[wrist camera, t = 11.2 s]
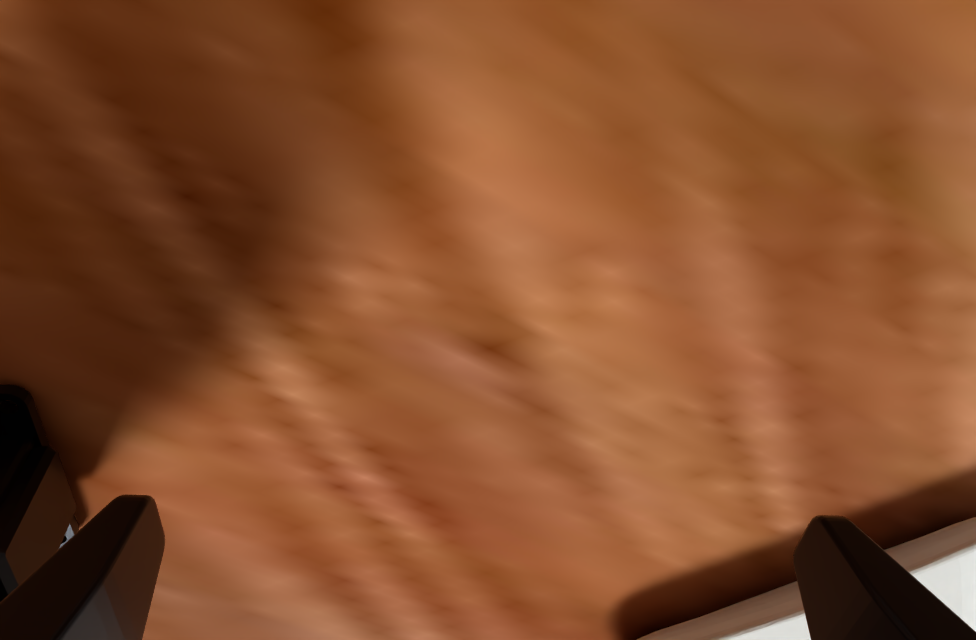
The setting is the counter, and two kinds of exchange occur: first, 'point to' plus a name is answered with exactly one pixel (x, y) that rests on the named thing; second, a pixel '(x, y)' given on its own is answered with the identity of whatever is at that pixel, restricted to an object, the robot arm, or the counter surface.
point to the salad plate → (780, 614)
